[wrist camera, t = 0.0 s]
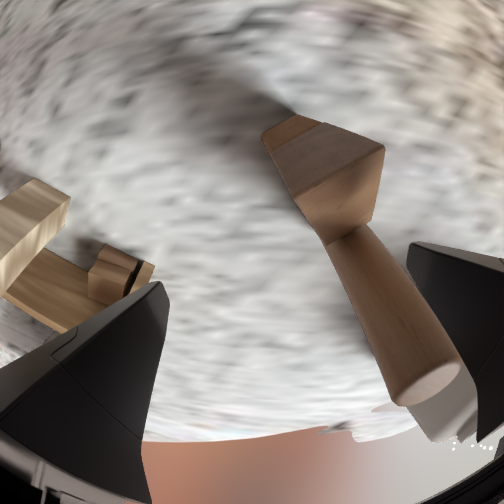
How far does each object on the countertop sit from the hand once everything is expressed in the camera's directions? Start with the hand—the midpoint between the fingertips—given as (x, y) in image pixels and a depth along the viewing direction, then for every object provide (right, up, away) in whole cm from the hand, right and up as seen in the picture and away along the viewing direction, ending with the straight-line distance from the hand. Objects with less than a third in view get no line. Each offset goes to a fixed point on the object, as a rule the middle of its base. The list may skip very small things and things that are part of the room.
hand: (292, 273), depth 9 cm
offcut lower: (-15, 0, +17) cm, 23 cm away
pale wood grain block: (-22, +6, +13) cm, 26 cm away
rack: (-20, +1, +16) cm, 25 cm away
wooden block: (+4, +7, +13) cm, 16 cm away
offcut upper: (-15, -2, +15) cm, 21 cm away
